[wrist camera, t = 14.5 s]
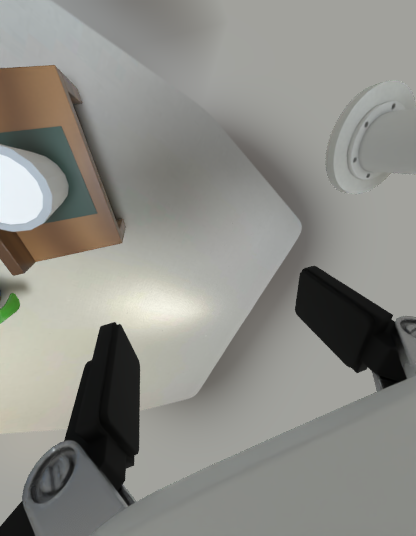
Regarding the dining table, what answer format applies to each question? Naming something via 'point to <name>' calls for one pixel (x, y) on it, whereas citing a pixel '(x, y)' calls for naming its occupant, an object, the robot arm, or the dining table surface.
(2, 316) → the snack cup
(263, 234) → the dining table surface
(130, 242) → the dining table surface
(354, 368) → the robot arm
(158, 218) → the dining table surface
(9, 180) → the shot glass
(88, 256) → the dining table surface
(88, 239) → the shelf
